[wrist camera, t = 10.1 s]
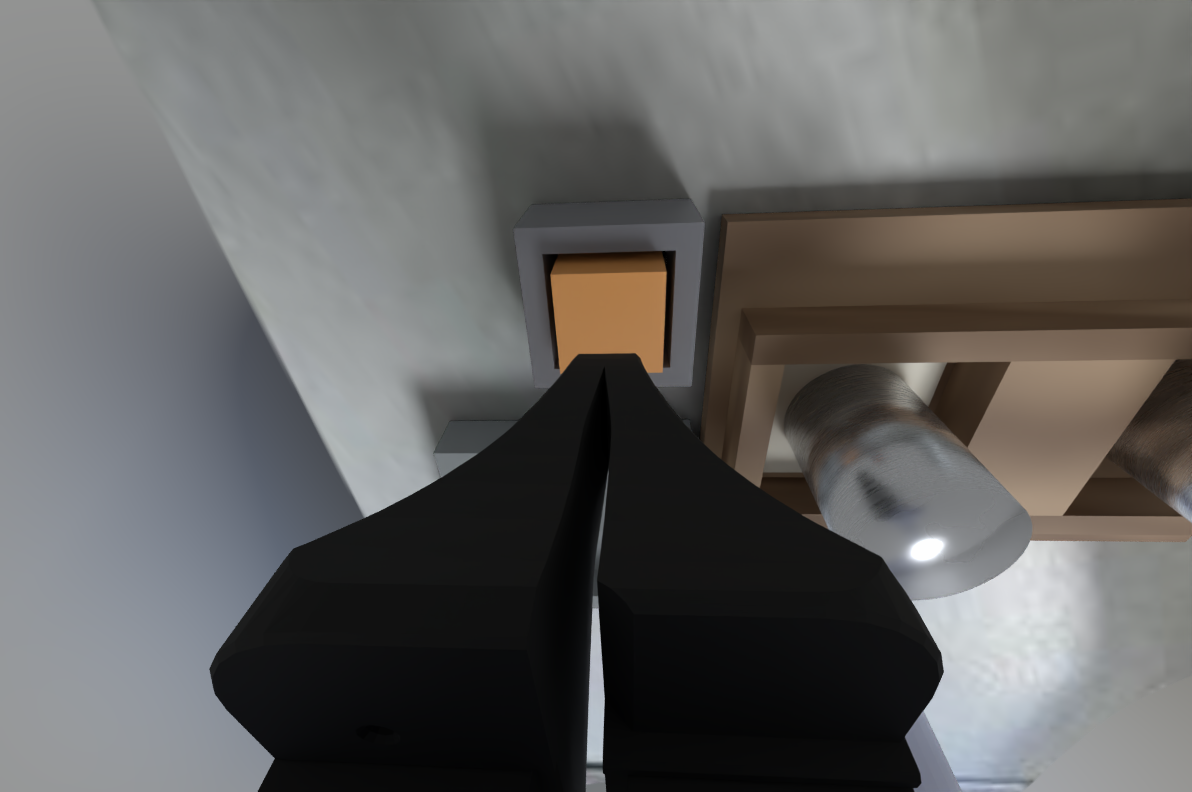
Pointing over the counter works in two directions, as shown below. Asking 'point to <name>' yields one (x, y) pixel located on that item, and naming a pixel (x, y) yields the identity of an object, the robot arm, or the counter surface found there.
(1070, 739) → the counter surface
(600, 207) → the button housing
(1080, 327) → the wooden compartment tray
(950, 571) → the billet
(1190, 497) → the cylinder
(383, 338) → the counter surface
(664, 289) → the button
